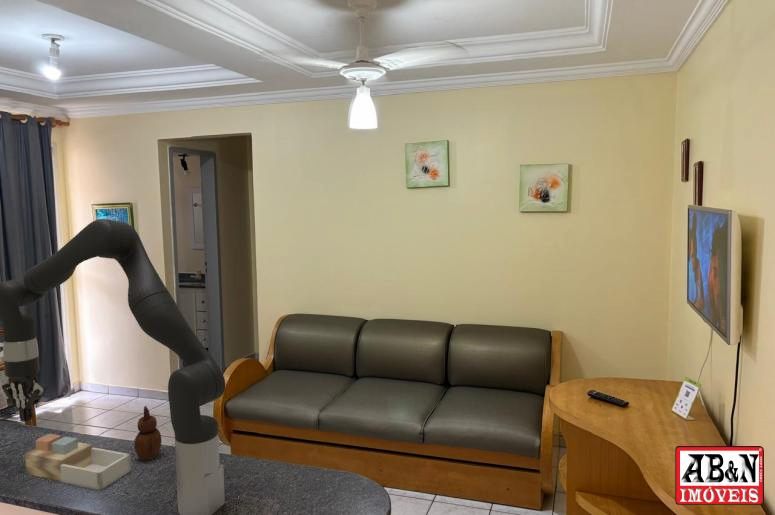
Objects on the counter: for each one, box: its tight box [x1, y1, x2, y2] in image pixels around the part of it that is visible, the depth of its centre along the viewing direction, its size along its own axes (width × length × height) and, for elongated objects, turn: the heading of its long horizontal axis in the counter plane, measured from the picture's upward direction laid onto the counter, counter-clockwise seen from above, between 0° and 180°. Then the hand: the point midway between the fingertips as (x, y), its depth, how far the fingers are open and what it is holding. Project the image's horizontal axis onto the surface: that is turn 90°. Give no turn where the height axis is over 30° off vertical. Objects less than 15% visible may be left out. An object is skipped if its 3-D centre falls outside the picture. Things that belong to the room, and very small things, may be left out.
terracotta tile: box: [34, 433, 62, 452], centre depth 142 cm, size 4×4×2 cm
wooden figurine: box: [134, 405, 162, 461], centre depth 148 cm, size 7×6×15 cm
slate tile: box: [52, 436, 79, 455], centre depth 141 cm, size 4×4×2 cm
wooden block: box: [24, 441, 93, 482], centre depth 142 cm, size 12×9×6 cm
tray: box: [60, 447, 132, 492], centre depth 138 cm, size 12×10×4 cm
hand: (26, 420), depth 144 cm, fingers closed
